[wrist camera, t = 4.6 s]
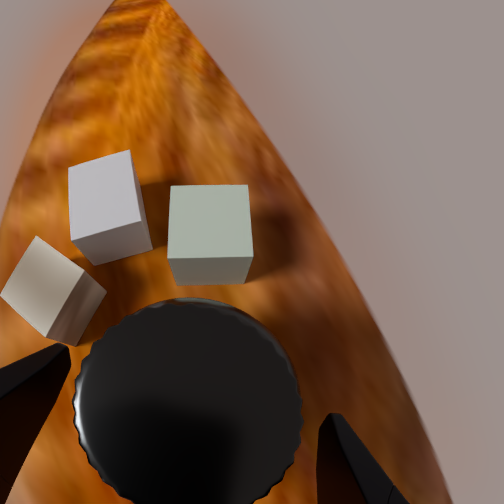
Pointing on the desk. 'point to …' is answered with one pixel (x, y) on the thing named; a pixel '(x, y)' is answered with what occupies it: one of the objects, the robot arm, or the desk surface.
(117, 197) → the grey plastic block
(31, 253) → the birch block
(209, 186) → the sage block
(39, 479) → the desk surface
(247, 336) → the supplement bottle
